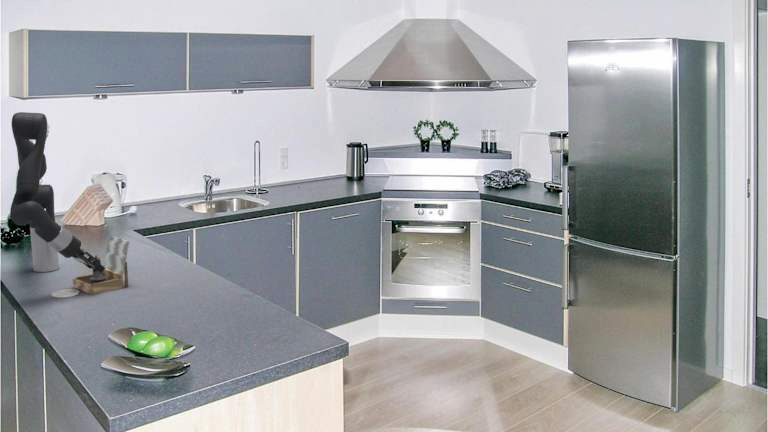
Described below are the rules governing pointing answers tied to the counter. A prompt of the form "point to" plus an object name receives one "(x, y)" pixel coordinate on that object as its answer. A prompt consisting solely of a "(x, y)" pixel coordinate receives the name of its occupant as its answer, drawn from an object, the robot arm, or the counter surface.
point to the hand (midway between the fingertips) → (97, 268)
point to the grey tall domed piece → (97, 274)
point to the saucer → (65, 293)
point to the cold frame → (108, 269)
